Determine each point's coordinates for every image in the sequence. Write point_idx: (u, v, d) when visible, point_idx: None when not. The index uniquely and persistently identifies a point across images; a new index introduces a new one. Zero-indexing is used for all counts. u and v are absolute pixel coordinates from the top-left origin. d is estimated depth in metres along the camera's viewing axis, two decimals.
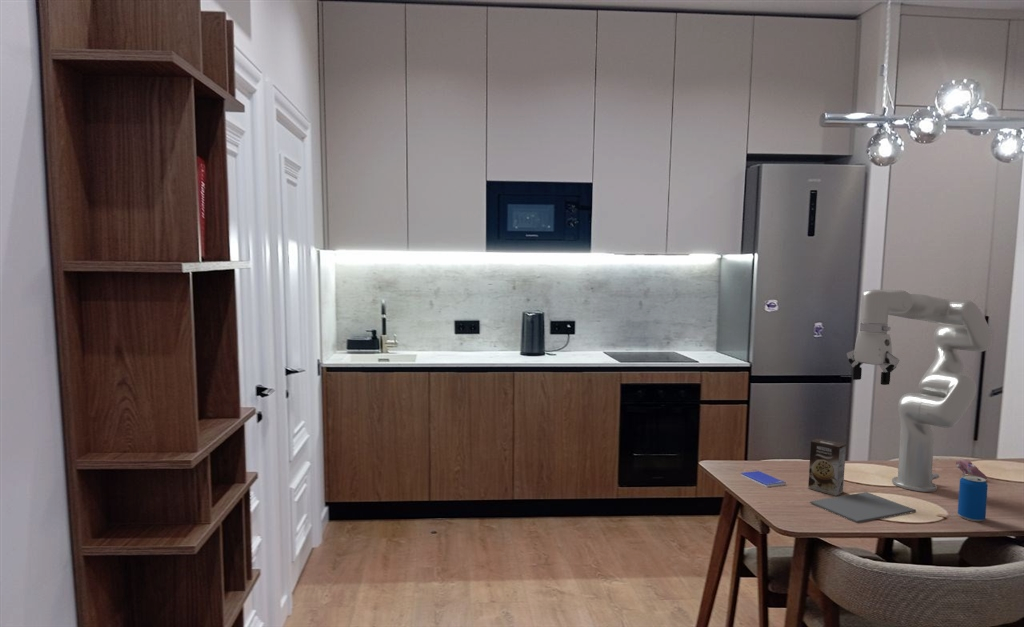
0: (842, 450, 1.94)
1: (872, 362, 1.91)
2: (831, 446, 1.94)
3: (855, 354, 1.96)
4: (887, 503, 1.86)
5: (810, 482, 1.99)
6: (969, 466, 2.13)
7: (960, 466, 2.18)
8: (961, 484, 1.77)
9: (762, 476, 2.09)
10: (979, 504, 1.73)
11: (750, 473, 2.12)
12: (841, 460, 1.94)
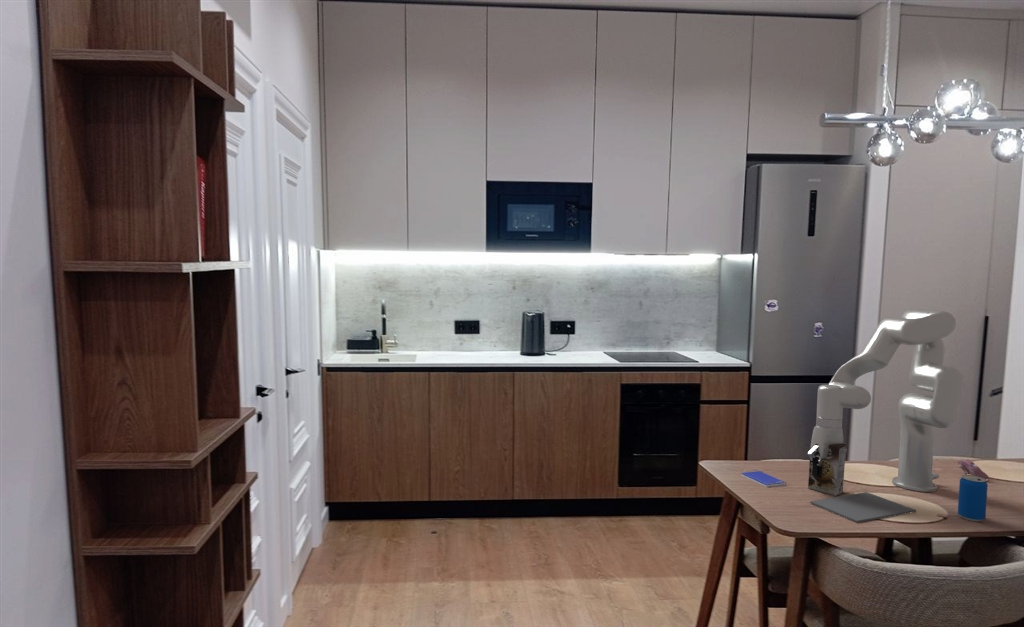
0: (841, 450, 1.94)
1: None
2: (831, 446, 1.94)
3: (823, 451, 1.94)
4: (887, 503, 1.86)
5: (810, 482, 1.99)
6: (971, 466, 2.13)
7: (962, 466, 2.18)
8: (961, 484, 1.77)
9: (762, 476, 2.09)
10: (979, 504, 1.73)
11: (750, 473, 2.12)
12: (841, 459, 1.94)
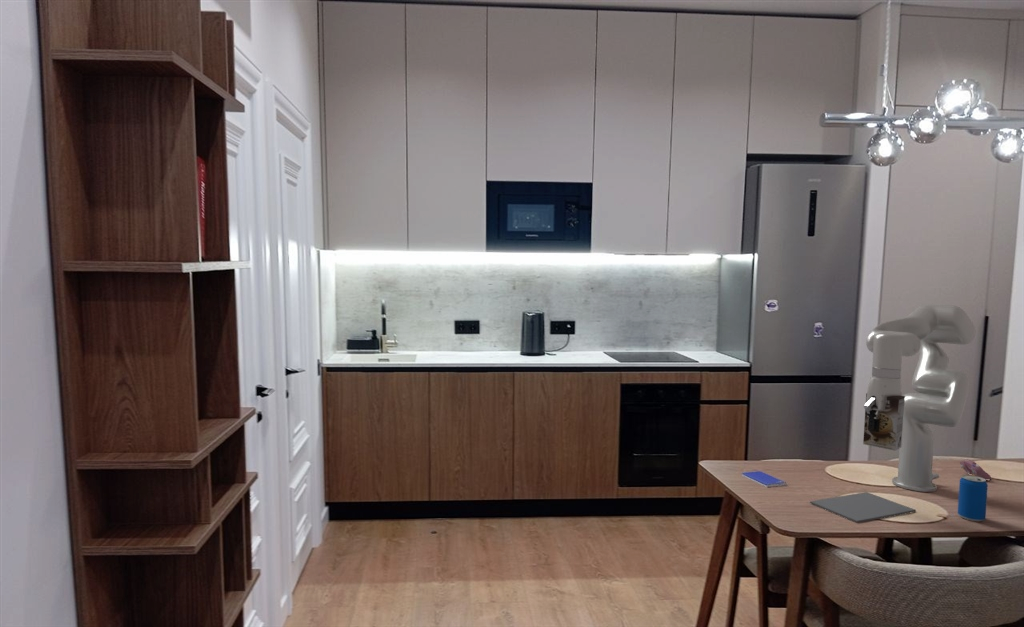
0: (901, 402, 1.81)
1: None
2: (889, 397, 1.81)
3: (881, 403, 1.81)
4: (887, 503, 1.86)
5: (865, 437, 1.86)
6: (973, 466, 2.13)
7: (964, 466, 2.18)
8: (961, 484, 1.77)
9: (763, 476, 2.09)
10: (979, 504, 1.73)
11: (750, 473, 2.12)
12: (900, 412, 1.81)
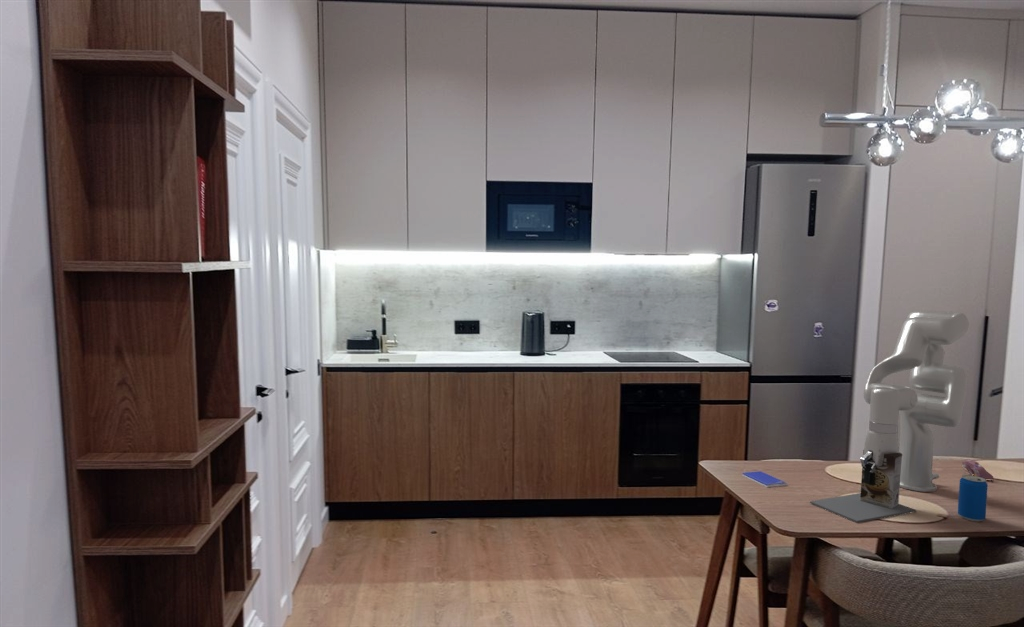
0: (897, 460, 1.82)
1: None
2: (886, 455, 1.82)
3: (878, 458, 1.82)
4: None
5: (862, 493, 1.87)
6: (976, 466, 2.13)
7: (966, 466, 2.18)
8: (961, 484, 1.77)
9: (763, 476, 2.09)
10: (979, 504, 1.73)
11: (751, 473, 2.12)
12: (897, 470, 1.82)
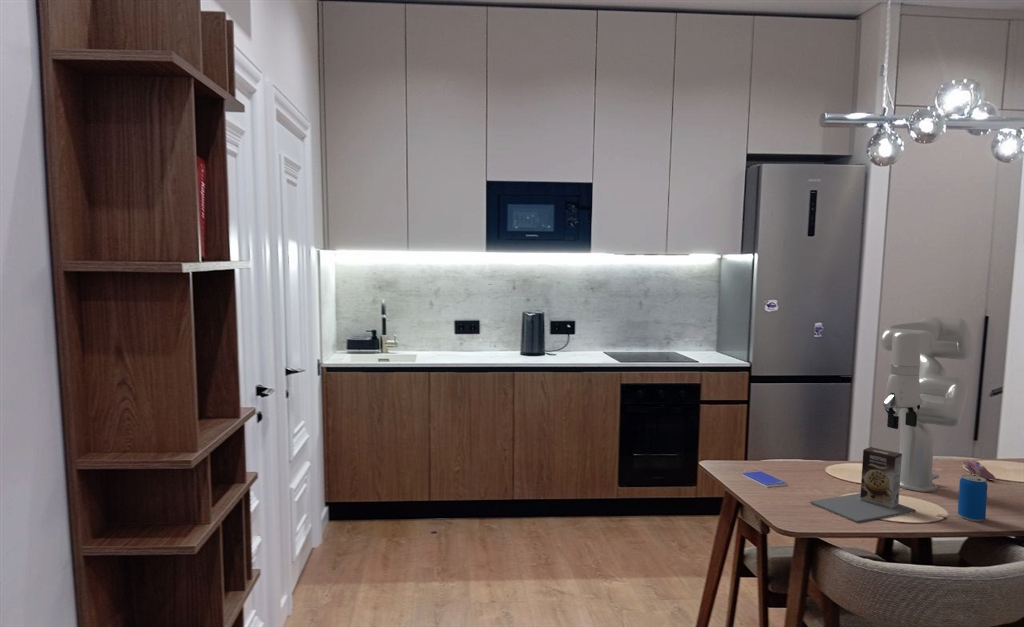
0: (897, 460, 1.82)
1: (913, 405, 1.87)
2: (886, 455, 1.82)
3: (900, 400, 1.84)
4: None
5: (862, 493, 1.87)
6: (977, 466, 2.13)
7: (968, 466, 2.18)
8: (961, 484, 1.77)
9: (763, 476, 2.09)
10: (979, 504, 1.73)
11: (751, 473, 2.11)
12: (897, 470, 1.82)
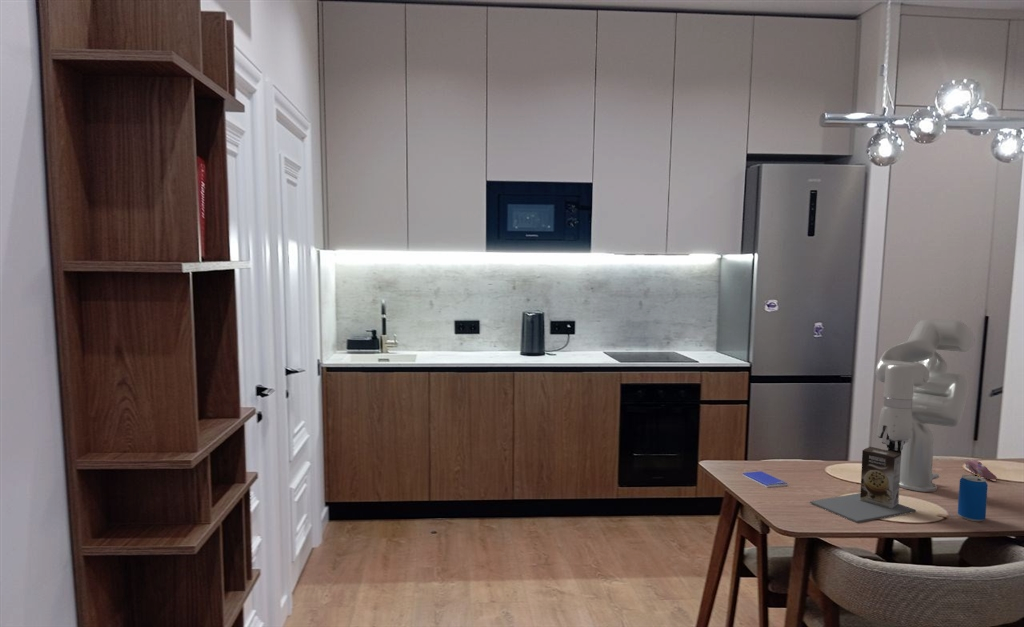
0: (897, 460, 1.82)
1: (905, 438, 1.86)
2: (885, 456, 1.82)
3: (893, 433, 1.84)
4: None
5: (862, 493, 1.87)
6: (979, 466, 2.13)
7: (969, 466, 2.18)
8: (961, 484, 1.77)
9: (764, 476, 2.09)
10: (979, 504, 1.73)
11: (751, 473, 2.11)
12: (896, 470, 1.82)
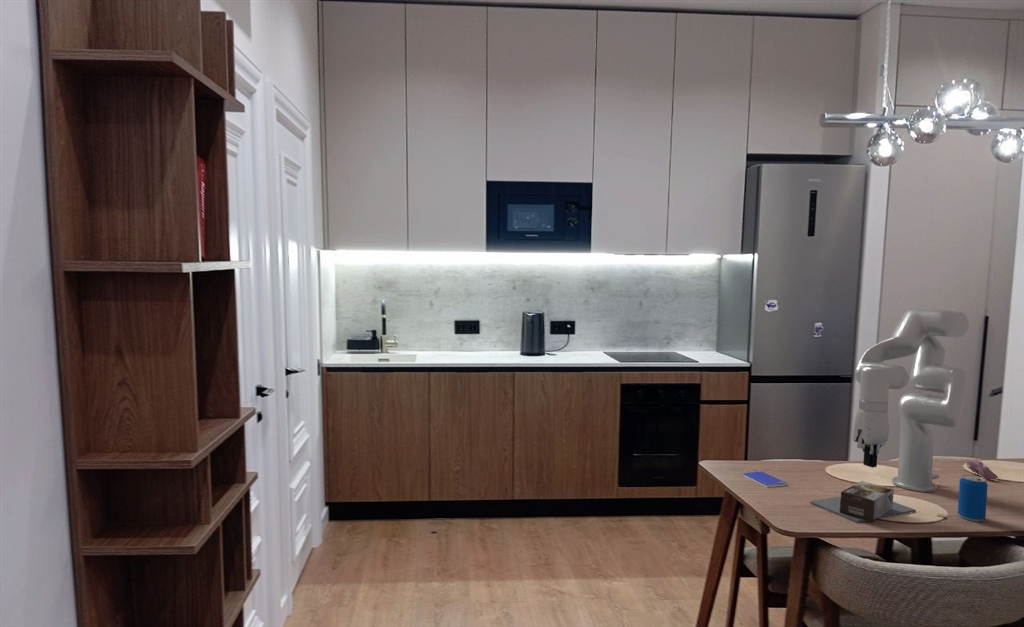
0: (875, 512, 1.72)
1: (881, 441, 1.82)
2: (863, 518, 1.73)
3: (868, 437, 1.80)
4: None
5: None
6: (980, 466, 2.13)
7: (971, 466, 2.18)
8: (961, 484, 1.77)
9: (764, 476, 2.08)
10: (979, 504, 1.73)
11: (752, 473, 2.11)
12: (879, 508, 1.74)
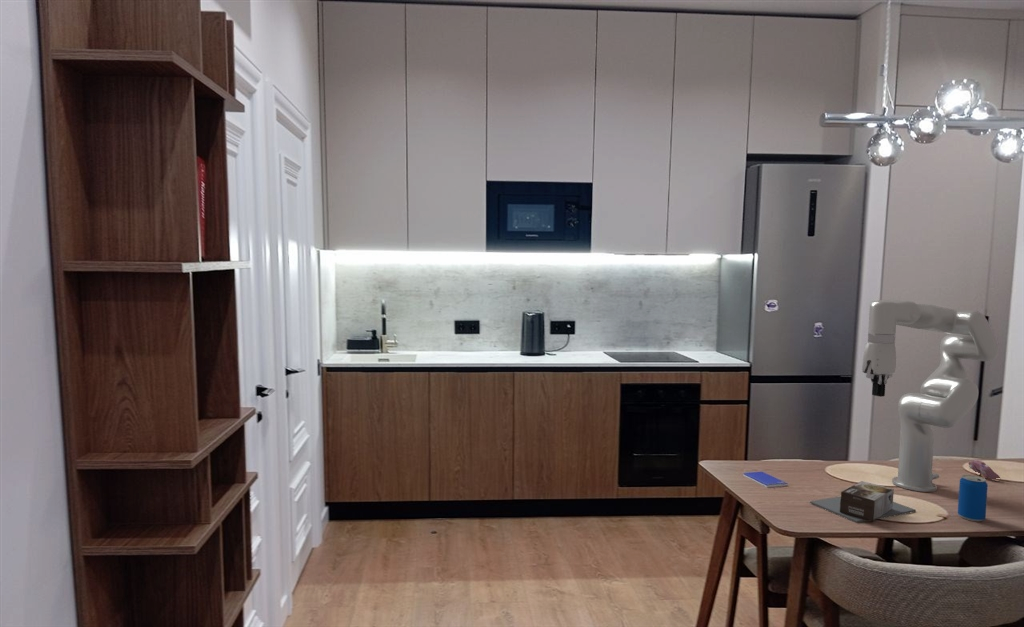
0: (875, 512, 1.72)
1: (889, 372, 1.94)
2: (863, 518, 1.73)
3: (876, 367, 1.91)
4: None
5: None
6: (982, 467, 2.12)
7: (973, 466, 2.18)
8: (961, 484, 1.77)
9: (764, 476, 2.08)
10: (979, 504, 1.73)
11: (752, 473, 2.11)
12: (879, 508, 1.74)
